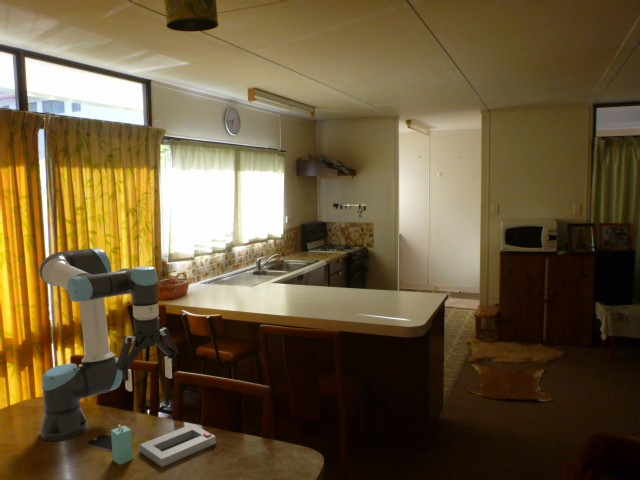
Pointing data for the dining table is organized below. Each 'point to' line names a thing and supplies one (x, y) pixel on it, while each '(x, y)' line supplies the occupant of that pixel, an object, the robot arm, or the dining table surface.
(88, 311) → the robot arm
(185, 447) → the grey slotted tray
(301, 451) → the dining table surface
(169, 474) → the dining table surface
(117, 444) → the block
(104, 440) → the smartphone
